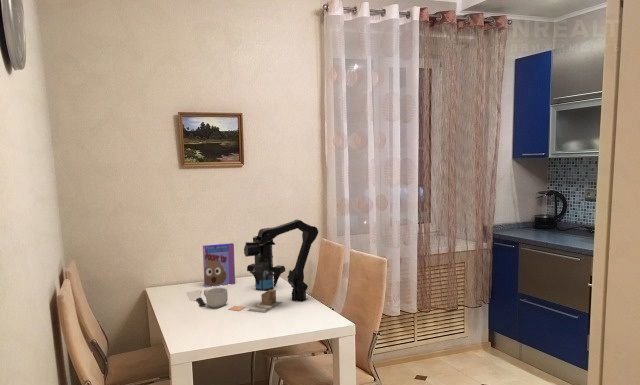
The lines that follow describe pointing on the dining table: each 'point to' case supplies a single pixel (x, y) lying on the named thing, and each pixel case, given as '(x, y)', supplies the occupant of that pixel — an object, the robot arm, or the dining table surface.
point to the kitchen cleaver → (196, 297)
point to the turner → (266, 301)
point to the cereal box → (218, 264)
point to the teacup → (216, 297)
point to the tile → (236, 308)
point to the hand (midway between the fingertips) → (266, 285)
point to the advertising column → (264, 276)
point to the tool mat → (269, 309)
